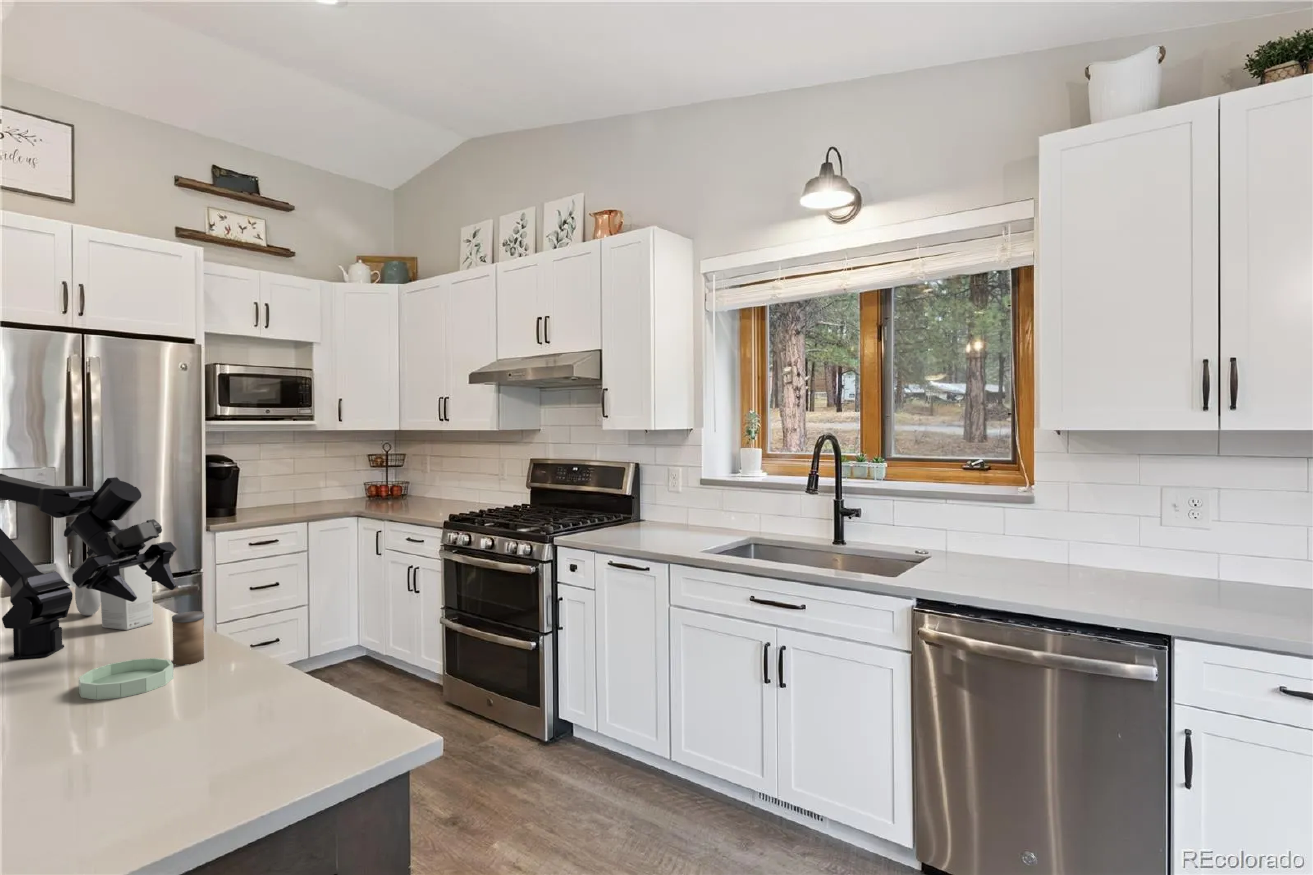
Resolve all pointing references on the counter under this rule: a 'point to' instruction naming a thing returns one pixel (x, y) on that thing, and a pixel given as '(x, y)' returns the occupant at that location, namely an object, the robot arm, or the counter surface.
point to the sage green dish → (125, 678)
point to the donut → (87, 600)
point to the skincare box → (129, 602)
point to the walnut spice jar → (188, 637)
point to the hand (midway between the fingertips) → (155, 594)
